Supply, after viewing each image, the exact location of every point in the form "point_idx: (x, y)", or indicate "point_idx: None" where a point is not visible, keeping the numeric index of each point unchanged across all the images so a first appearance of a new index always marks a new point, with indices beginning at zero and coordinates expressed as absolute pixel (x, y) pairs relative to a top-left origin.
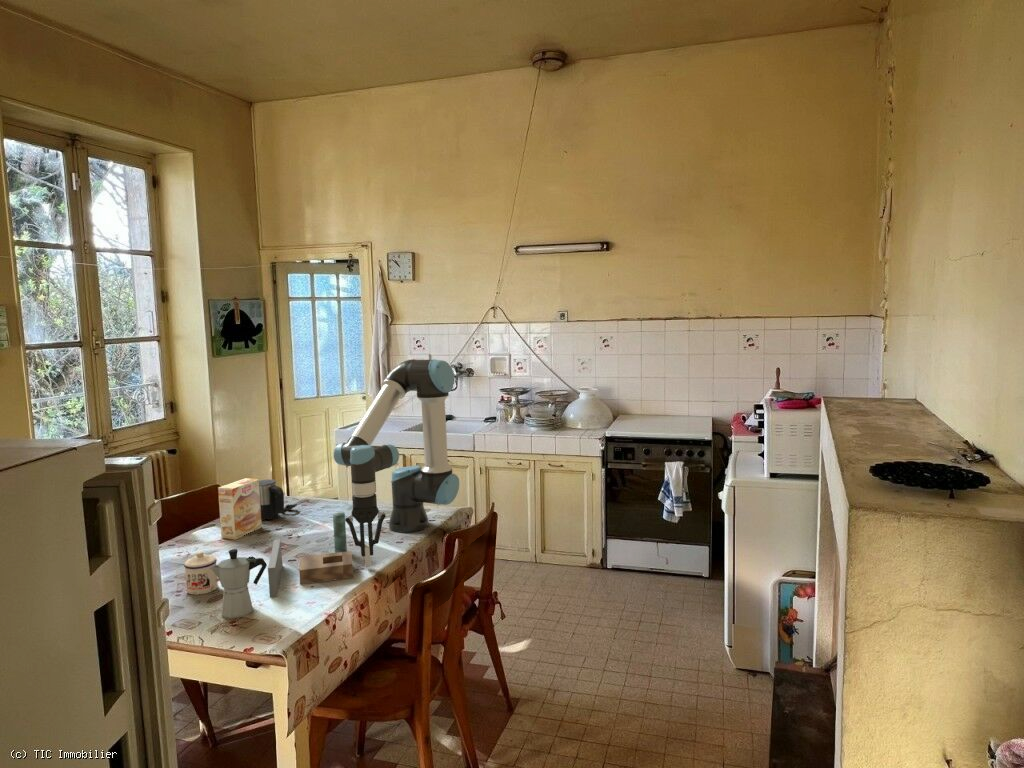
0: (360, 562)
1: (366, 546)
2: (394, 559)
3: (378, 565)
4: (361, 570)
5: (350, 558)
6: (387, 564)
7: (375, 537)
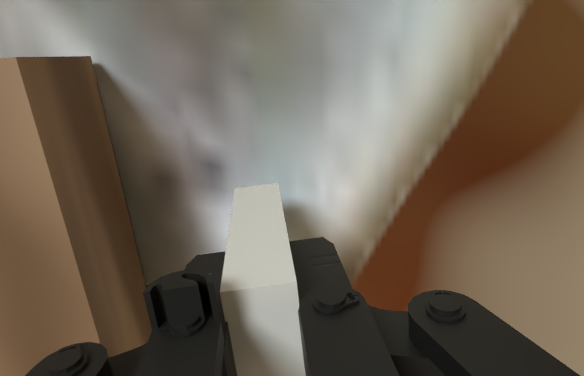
0: (169, 5)
1: (262, 365)
2: (498, 2)
3: (346, 128)
4: (206, 213)
5: (74, 319)
6: (423, 121)
7: (457, 368)
